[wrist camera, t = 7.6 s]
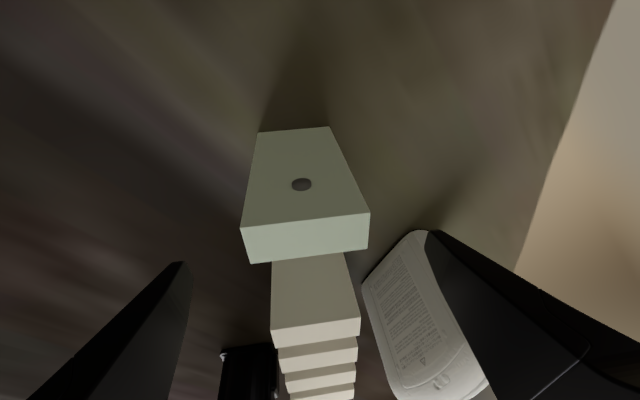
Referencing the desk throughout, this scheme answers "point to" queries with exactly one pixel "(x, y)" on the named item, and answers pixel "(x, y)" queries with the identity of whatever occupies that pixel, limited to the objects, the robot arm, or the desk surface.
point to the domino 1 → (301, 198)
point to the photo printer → (418, 328)
